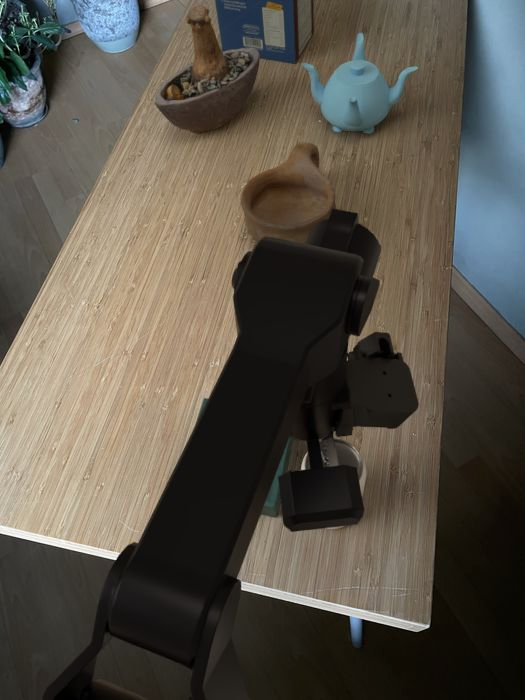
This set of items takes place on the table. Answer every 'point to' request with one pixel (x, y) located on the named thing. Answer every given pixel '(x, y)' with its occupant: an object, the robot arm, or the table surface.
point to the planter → (208, 80)
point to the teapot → (356, 93)
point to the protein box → (266, 26)
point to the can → (343, 461)
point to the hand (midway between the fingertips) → (309, 449)
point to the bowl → (288, 197)
